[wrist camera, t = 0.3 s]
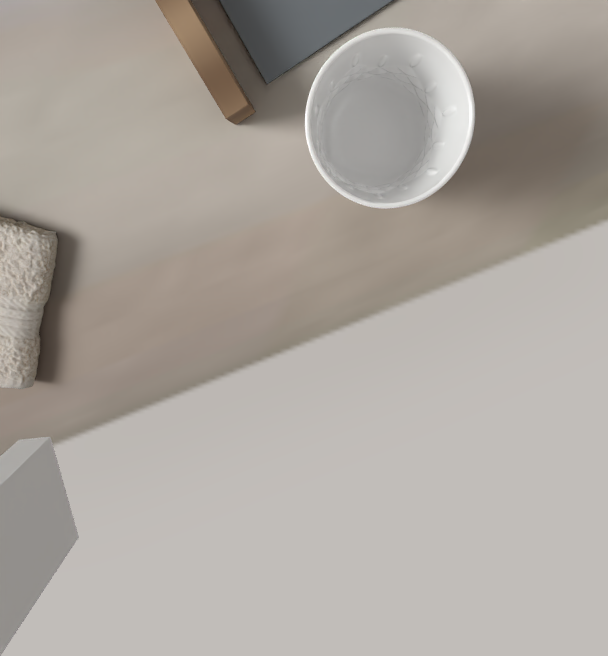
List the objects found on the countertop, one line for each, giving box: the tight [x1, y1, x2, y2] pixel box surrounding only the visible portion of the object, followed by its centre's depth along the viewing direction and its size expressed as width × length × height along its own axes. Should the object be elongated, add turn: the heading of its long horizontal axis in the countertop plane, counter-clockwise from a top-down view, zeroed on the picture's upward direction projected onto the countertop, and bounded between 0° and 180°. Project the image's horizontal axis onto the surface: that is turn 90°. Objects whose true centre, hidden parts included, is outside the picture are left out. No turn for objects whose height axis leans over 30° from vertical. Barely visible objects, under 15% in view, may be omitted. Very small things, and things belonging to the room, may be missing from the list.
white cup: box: [305, 27, 475, 208], centre depth 30 cm, size 8×8×10 cm
